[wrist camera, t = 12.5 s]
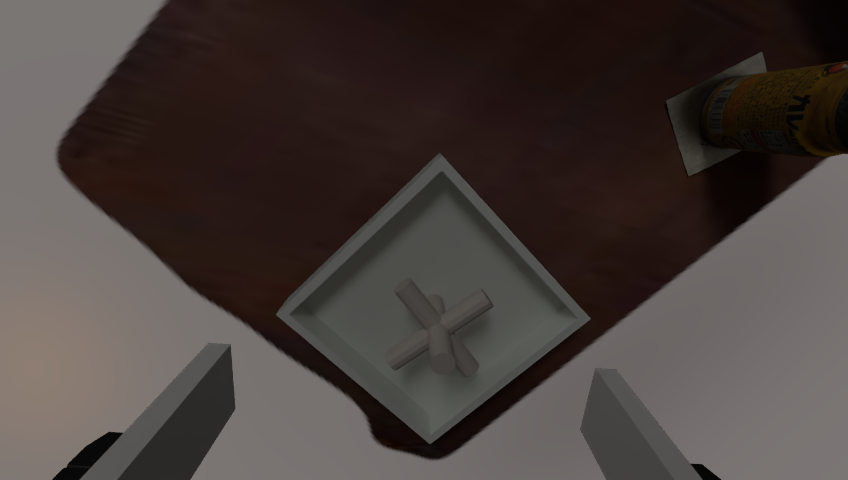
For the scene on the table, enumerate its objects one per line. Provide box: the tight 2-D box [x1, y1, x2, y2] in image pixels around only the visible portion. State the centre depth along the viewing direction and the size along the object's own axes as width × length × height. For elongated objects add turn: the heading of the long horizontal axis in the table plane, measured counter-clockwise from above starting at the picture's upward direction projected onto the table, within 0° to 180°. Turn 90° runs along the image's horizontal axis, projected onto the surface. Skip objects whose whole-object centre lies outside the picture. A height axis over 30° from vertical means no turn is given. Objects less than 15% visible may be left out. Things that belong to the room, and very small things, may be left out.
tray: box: [276, 153, 590, 444], centre depth 37 cm, size 20×20×4 cm
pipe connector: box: [385, 278, 494, 377], centre depth 33 cm, size 10×10×10 cm
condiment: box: [666, 52, 848, 176], centre depth 28 cm, size 7×8×12 cm
